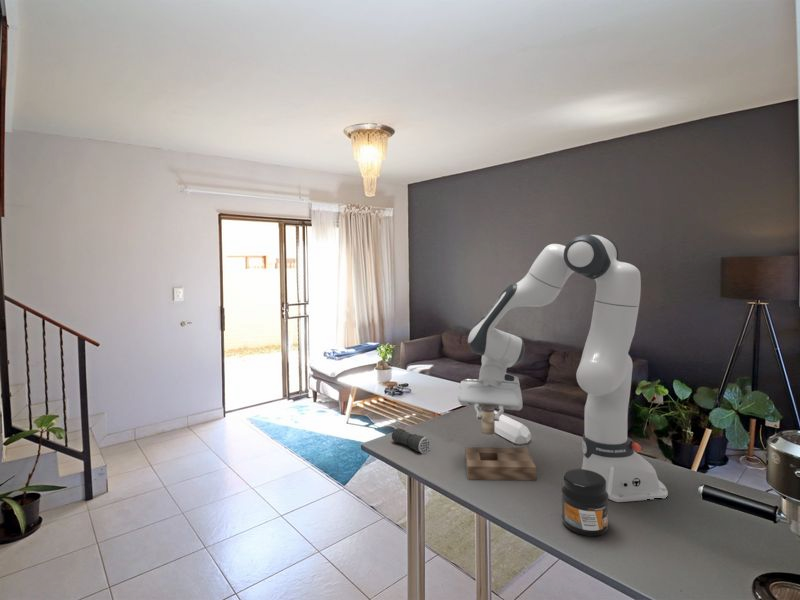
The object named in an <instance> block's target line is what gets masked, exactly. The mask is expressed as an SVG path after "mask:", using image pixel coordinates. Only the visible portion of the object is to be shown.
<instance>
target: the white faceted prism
mask: <svg viewBox="0 0 800 600" xmlns="http://www.w3.org/2000/svg"><path fill="white" fill-rule="evenodd" d="M494 413H495V414H497V413H498V411H496V410H494ZM494 434H497V435H499V436H501V437H502V438H504V439H506V440H508V441H509V442H511V443H513V444H515V445H524V444H528V443H529V442H530V441H531V439H532V434H531V432H530V430H529V428H528V427H527V426H526V425H524V424H523V423H522V422H519V421H517V420H515V419H514V418H511V417H509V416H507V415H504V413H502V415H501V416H500V417H499V421H495V433H494Z"/></svg>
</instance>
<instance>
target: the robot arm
mask: <svg viewBox="0 0 800 600" xmlns="http://www.w3.org/2000/svg"><path fill="white" fill-rule="evenodd" d="M619 254H620V252H619V249H618V247H617V245H616V244H615V243H614V241H613V240H611V239H609V238H606V237H605V236H604V237H603V236H602V235H598V234H580V235H577V236H575V237H573V238H572V239H571V240H570V241H568V243H567V244H566V245H564V244H559V243H551V244H548V245H546V246H545V247H544V249H542V251H541V252H540V253H539V254H538V255H537V257H536V258H535V260H534V261H533V263H532V265H531V266H530V268H529V270H528V271H527V273H526V275H524V276H523V278H522V279H521V280H519V281H517V282H516V283H511V284H509V285H508V286H507V287H506V288H505V289H503V291H502V292H501V294H499V296H498V297H497V299H496V300H495V301H494V302H493V304H492V305H491V307H490V308H489V309H488V310H487V311H486V313H485V314H484V315H483V317H482V318H481V319H480V320H479V321H478V322H477V323H476V324H475V325H474V326H473V328H472V329H471V330H470V332H469V334H468V336H467V345H468V347H469V350H470V351H471V352H472V353H473V354H475V355H479V356H481V359H480V360H481V361H480V362H481V366H480V369H479V373H478V374H479V375H478V378H477V379H475V378H465V379H463V380H461V381H460V385H459V392H458V395H457V400H458V402H459V404H460V406H466V407H473V408H474V410H475V412H476V420H481V411H479V410H481V406H484V405H490V406H494V407H495V409H497V412H498V413H497V414H495V413H494V421H499V417H500V416H501V415H502V414H504V411H505V410H510V411H521V410H522V409H523V396H522V389H521V387H520V386H521V385H520V381H519V380H520V379H519V377H518V376H516V375H513V374H510V373H507V369H508V368H512V367H514V366H516V365H518V364H520V363H521V362H522V361H523V359H524V357H525V352H526V347H525V342H524V340H523V339H522V337H519V336H517V335H515V334H512V333H509V332H506V331H503V330H500V329H499V328H496V326H497V325H498V323H499V322H500V321H501V320H502V319H503V317H504V316H505V314H506V313H507V312H509V310H512V309H515V308H522V307H526V308H527V307H528V308H529V307H530V308H531V307H532V308H537V307H538V308H539V307H544V306H548V305H550V304H552V303H553V302H554V301H555V300H556V299H557V297H558V296H559V294H560V293H561V291H562V290H563V288H564V285H566V282H567V281H568V279H569V278H570V276H571V275H572V274H574V273H576V274H578V275H580V276H584V277H586V278H588V279H590V280H594V281H595V285H596V291H595V297H594V303H593V310H592V315H591V321H590V327H589V332H588V334H587V337H586V341H585V343H584V348H583V350H582V354H581V358H580V361H579V365H578V368H577V370H576V375H575V376H576V382H577V384H578V386H579V387H580V389H581V390H583V391H584V392H585V393H587V397H586V401H585V405H584V433H583V434H582V447H581V448H582V453H583V456H582V457H583V459H582V465H581V469H585V470H590V471H593V472H596V473H598V474H600V475H601V476H603V477H604V478H605V480H606V491H607V493H608V496H609V499H608V500H611V501H613V502H615V503H625V502H635V501H636V502H637V501H648V500H647V499H650V500H655V499H654V498H662V499H667V498H668V497H667V496H669V492H668V489H667V487H666V486H665V484H664V483H663V482H662V481H661V480H659V479H658V475H657V472H656V470H655V468H654V466H653V465H652V464H651V463H650V462H648V461H647V460H646V459H645V458H644V457H643V456H642V455H640V454H638V453H641V451H642V449H643V448H642V446H641V445H640V444H639V443H637V442H635V441H634V440H633V439H632V438H630V437H628V413H629V404H630V396H631V387H632V378H633V377H632V376H633V369H634V368H633V367H634V366H633V360H632V357H631V356H630V354H629V352H630V349H631V344H632V342H633V338H634V335H635V333H636V332H635V331H636V326H637V320H638V315H639V314H638V313H639V309H640V301H641V295H642V294H641V292H642V290H641V289H642V288H641V287H642V286H641V285H642V284H641V283H642V281H641V279H642V278H641V272H640V270H639V269H638V268H637V267H636V266H635V265H633V264H631V263H629V262H624V261H619V258H620V257H619V256H620V255H619ZM666 497H667V498H666Z"/></svg>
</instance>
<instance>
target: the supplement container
mask: <svg viewBox="0 0 800 600" xmlns="http://www.w3.org/2000/svg"><path fill="white" fill-rule="evenodd" d="M560 492H561V520H562V523H563V524H564V525H565V527H567V528H568V529H569V530H571V531H572V532H574V533H576V534H577V535H582V536H587V537H596V536H600V535H603V534H604V533H606V532H607V530H608V529H609V528H608V527H609V500H610V499H609V496H608V493H607V491H606V480H605V478H604V477H603V476H601V475H600V474H598V473H596V472H593V471H590V470H585V469H582V468H574V469H569V470H567V471H565V472H564V473H563V484H562V485H561V491H560Z"/></svg>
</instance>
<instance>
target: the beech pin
mask: <svg viewBox="0 0 800 600" xmlns="http://www.w3.org/2000/svg"><path fill="white" fill-rule="evenodd" d="M495 409H496V408H495V407H494V406H490V405H484V406H481V407H480V412H481V419H480V421H481V433H482V434H483V435H489V436H490V435H493V434H496V433H495V421H494V411H496V410H495Z"/></svg>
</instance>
